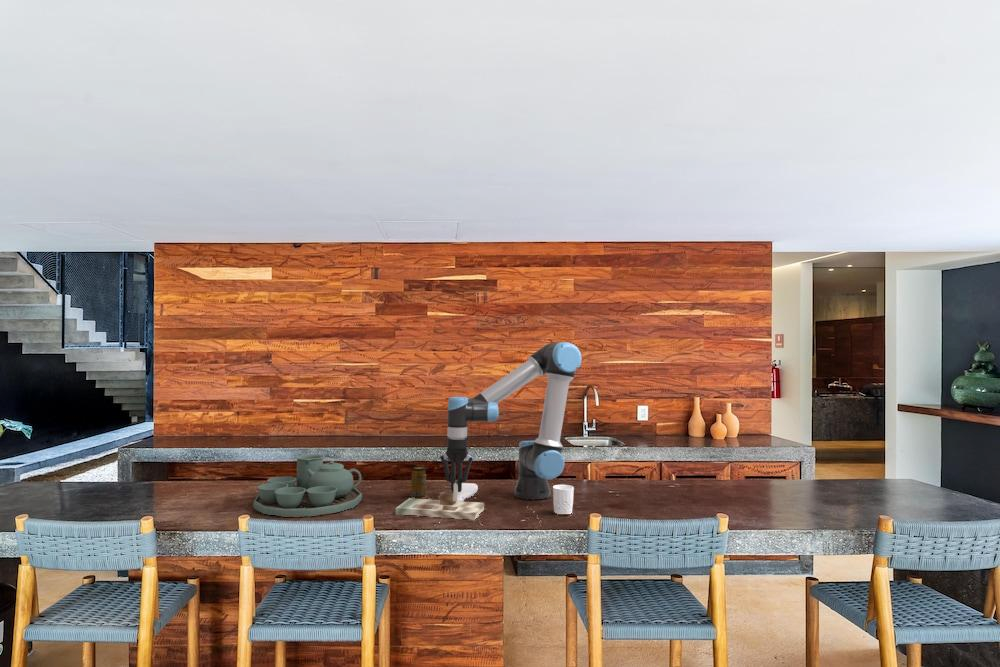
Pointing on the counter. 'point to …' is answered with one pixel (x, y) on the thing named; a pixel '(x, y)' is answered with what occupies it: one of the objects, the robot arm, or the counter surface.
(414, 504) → the trap deck
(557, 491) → the white cup
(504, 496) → the counter surface
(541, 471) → the robot arm
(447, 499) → the walnut block
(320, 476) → the tea set
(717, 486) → the counter surface
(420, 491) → the condiment
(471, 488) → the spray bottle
